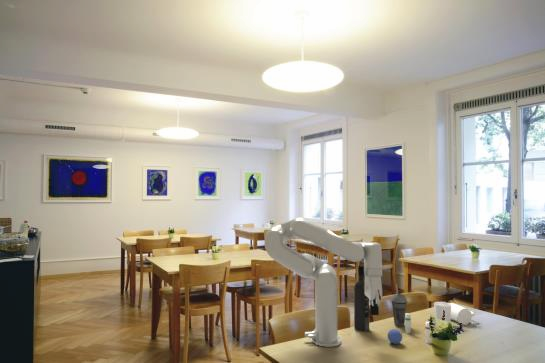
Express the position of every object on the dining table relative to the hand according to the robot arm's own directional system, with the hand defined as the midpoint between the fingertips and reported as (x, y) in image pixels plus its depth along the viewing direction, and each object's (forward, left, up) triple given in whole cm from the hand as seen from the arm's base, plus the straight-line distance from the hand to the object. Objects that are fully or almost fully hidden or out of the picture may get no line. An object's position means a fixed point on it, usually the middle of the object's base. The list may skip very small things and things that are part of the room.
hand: (374, 314), depth 163 cm
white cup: (+42, +22, -13) cm, 49 cm away
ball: (+9, 0, -10) cm, 13 cm away
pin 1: (+20, +12, -13) cm, 27 cm away
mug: (+54, +26, -13) cm, 61 cm away
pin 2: (+24, 0, -13) cm, 27 cm away
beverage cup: (+20, +22, -13) cm, 32 cm away
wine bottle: (0, +18, -13) cm, 22 cm away
